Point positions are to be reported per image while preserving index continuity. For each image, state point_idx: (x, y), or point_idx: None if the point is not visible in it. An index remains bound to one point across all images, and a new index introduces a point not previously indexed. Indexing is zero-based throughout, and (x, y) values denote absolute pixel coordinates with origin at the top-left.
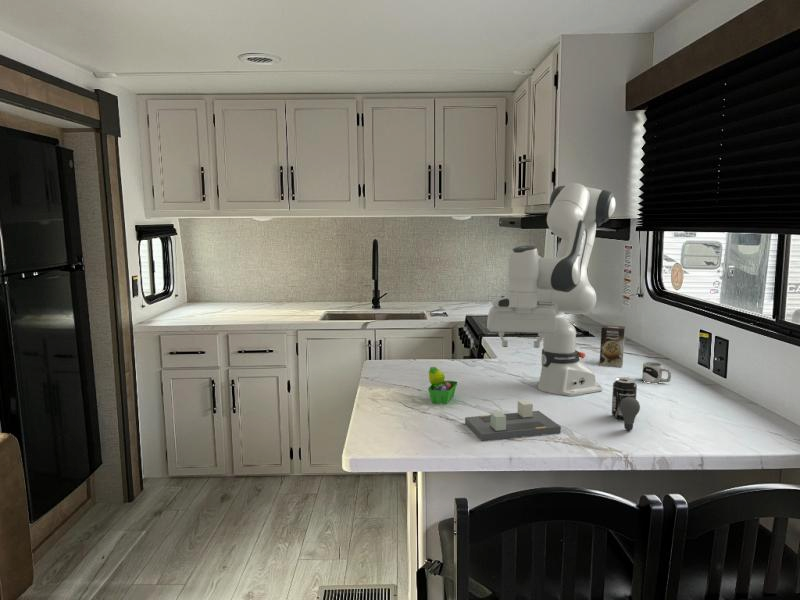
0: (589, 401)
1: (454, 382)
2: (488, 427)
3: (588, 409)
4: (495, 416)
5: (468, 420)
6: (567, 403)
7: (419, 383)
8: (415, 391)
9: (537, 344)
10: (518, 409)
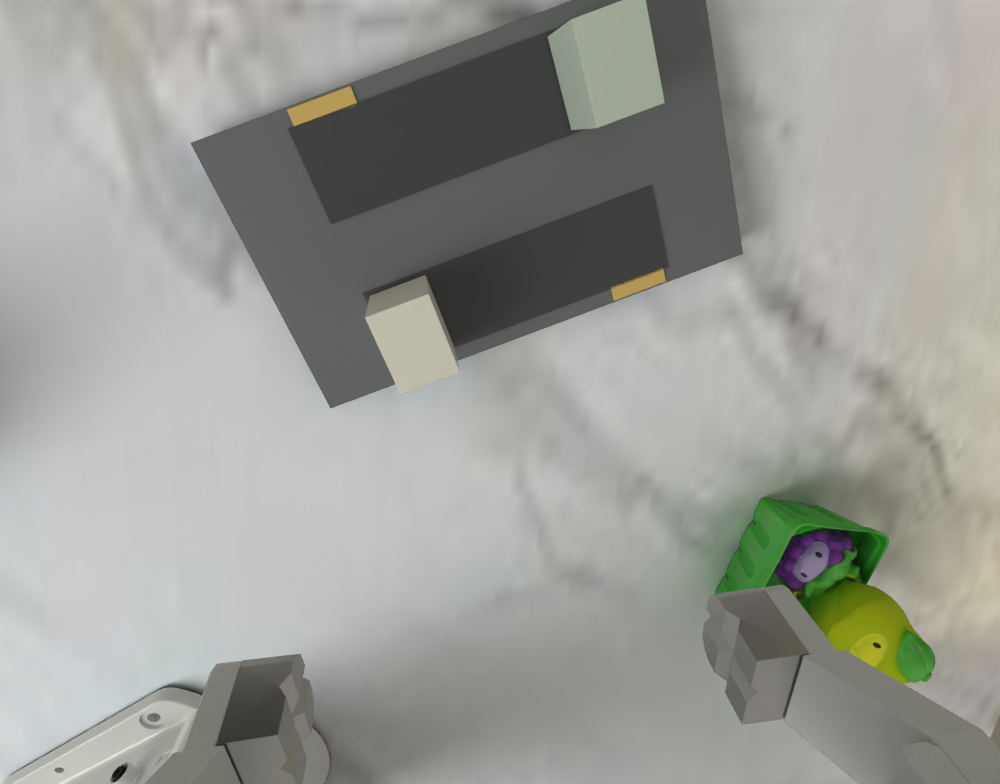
0: (60, 643)
1: None
2: None
3: (57, 537)
4: (646, 10)
5: (733, 204)
6: (178, 599)
7: None
8: None
9: (238, 698)
10: (450, 341)
